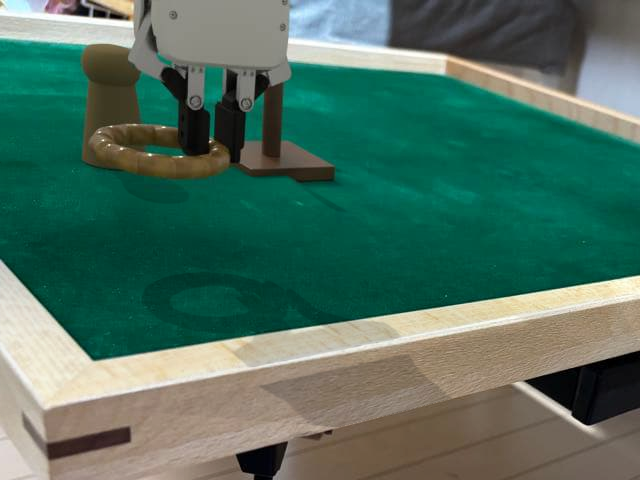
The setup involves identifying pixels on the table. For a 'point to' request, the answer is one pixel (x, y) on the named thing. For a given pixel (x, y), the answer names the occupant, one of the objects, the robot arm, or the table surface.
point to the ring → (113, 153)
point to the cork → (109, 94)
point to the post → (279, 148)
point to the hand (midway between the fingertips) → (210, 156)
